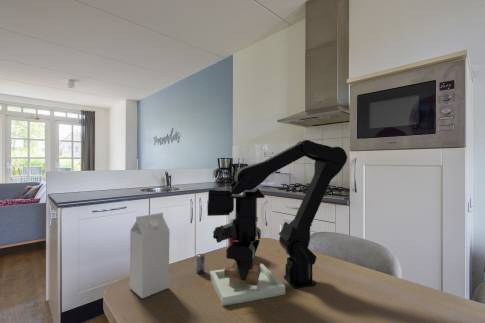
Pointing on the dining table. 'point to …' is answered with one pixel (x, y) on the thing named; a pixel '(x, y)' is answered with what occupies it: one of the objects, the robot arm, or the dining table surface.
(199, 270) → the cylinder
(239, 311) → the dining table surface
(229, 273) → the ring
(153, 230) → the milk carton
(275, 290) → the tray
